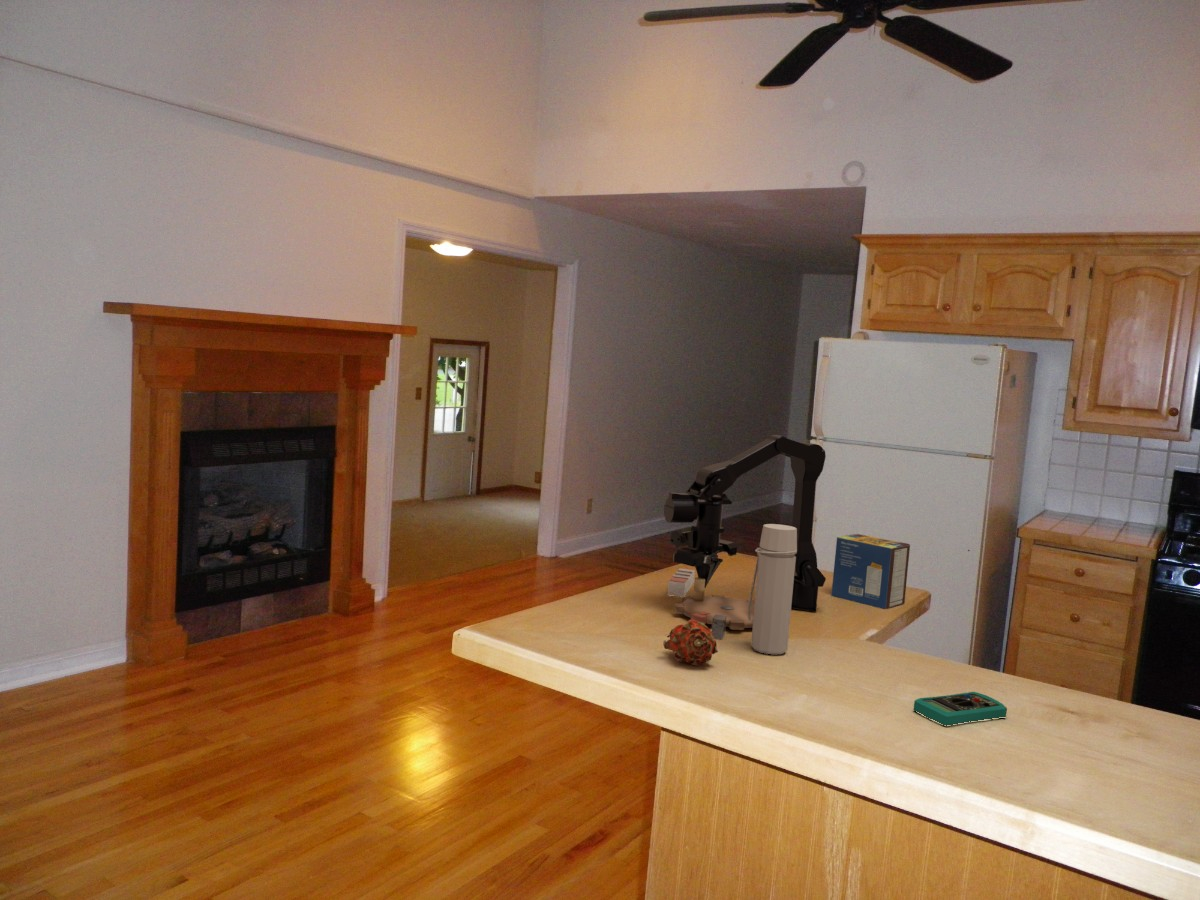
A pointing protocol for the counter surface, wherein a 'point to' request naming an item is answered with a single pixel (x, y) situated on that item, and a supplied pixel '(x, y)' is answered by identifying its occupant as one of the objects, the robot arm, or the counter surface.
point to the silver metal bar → (681, 582)
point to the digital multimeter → (960, 708)
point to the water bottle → (773, 588)
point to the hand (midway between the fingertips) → (702, 588)
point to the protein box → (870, 570)
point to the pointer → (718, 626)
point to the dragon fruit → (692, 643)
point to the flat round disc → (715, 608)
